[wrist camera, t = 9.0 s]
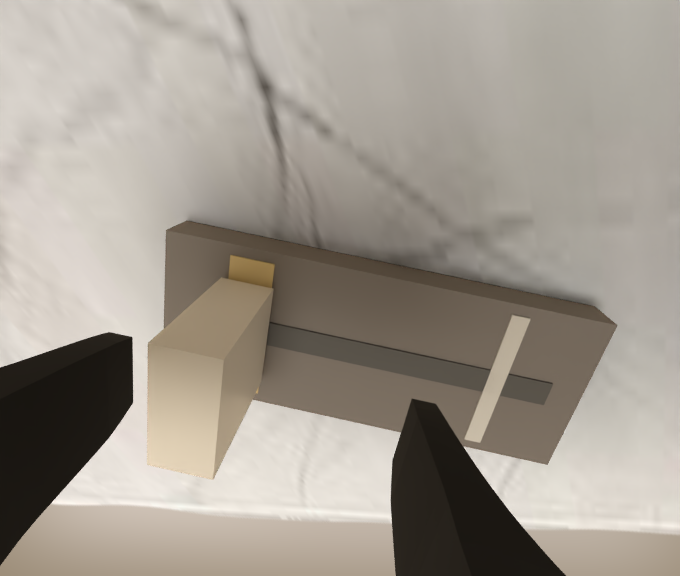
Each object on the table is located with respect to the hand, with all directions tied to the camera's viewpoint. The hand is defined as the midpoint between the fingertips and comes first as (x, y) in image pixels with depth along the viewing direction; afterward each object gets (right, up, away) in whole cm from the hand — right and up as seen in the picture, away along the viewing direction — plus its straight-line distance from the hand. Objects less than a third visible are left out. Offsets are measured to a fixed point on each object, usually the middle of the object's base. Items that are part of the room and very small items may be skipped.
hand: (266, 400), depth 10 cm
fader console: (+3, 0, +11) cm, 11 cm away
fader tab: (-3, +1, +9) cm, 9 cm away
